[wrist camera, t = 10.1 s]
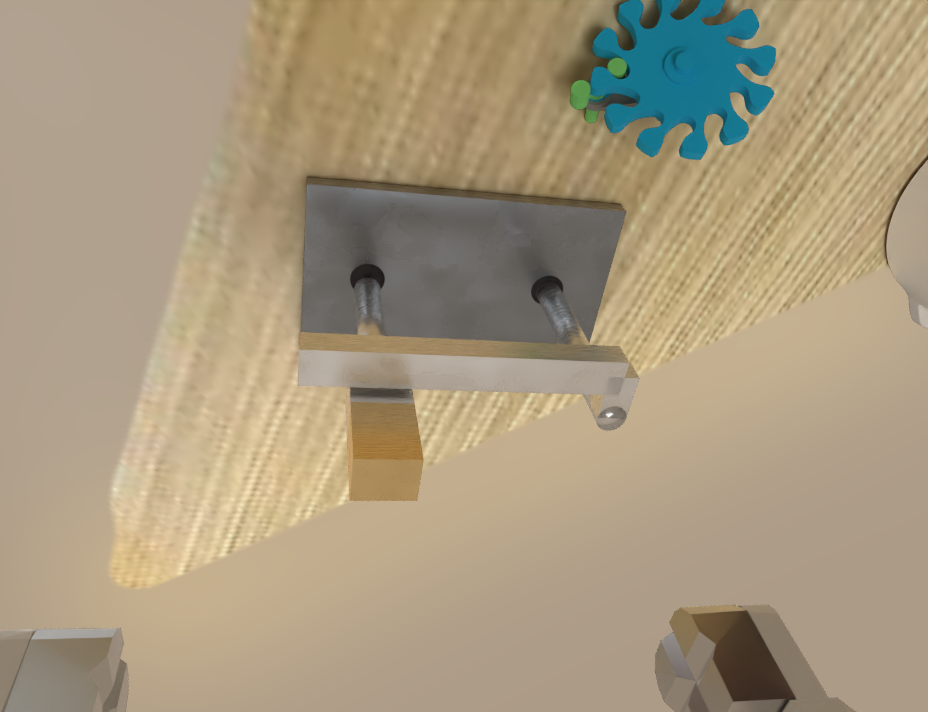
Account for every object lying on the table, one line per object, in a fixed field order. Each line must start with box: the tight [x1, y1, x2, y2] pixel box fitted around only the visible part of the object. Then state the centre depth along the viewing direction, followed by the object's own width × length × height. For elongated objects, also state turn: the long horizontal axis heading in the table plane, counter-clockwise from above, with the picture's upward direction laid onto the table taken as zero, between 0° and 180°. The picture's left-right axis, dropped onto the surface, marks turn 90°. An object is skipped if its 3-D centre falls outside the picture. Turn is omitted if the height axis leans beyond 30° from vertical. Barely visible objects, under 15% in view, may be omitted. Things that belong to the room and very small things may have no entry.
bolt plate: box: [301, 177, 626, 344], centre depth 50 cm, size 20×12×1 cm, turn 81°
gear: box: [570, 0, 776, 160], centre depth 43 cm, size 11×6×10 cm
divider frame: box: [298, 280, 640, 430], centre depth 42 cm, size 17×4×14 cm, turn 81°
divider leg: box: [346, 278, 423, 501], centre depth 40 cm, size 3×2×18 cm
